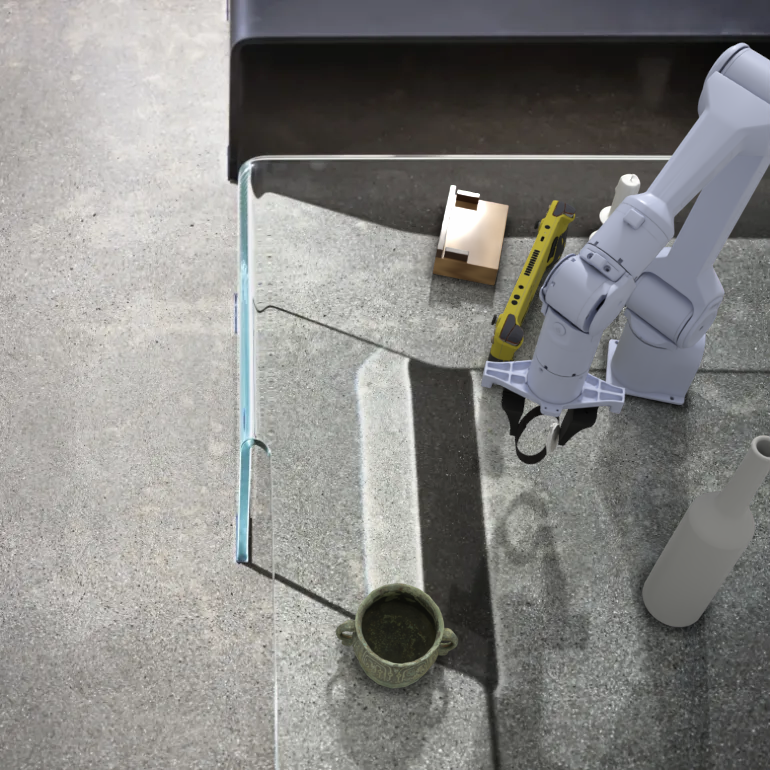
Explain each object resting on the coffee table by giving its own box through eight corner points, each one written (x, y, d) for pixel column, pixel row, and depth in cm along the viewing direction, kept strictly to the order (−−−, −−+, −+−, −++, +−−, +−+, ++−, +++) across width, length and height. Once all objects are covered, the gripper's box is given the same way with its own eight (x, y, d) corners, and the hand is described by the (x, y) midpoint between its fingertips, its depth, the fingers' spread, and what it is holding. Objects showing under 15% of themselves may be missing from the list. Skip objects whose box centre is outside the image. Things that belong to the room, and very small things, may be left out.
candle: (600, 224, 156) (623, 156, 146) (635, 242, 154) (660, 175, 145) (581, 246, 153) (603, 177, 143) (616, 265, 151) (641, 197, 142)
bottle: (713, 590, 123) (815, 439, 101) (690, 638, 119) (791, 492, 97) (656, 560, 124) (744, 404, 102) (632, 606, 121) (718, 455, 99)
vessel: (453, 617, 118) (462, 588, 113) (452, 699, 113) (461, 672, 108) (336, 606, 118) (340, 576, 113) (329, 688, 112) (333, 661, 107)
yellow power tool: (532, 247, 152) (548, 190, 144) (563, 257, 151) (580, 201, 143) (471, 386, 137) (484, 331, 129) (505, 398, 136) (520, 344, 128)
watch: (543, 475, 124) (550, 456, 121) (502, 458, 125) (508, 438, 122) (567, 424, 128) (574, 404, 126) (527, 407, 129) (533, 388, 127)
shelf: (505, 221, 154) (511, 196, 151) (494, 285, 147) (500, 261, 143) (446, 210, 155) (450, 185, 151) (432, 273, 147) (436, 248, 144)
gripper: (486, 370, 113) (466, 449, 123) (634, 400, 112) (601, 476, 123) (495, 317, 117) (475, 398, 128) (637, 345, 116) (605, 424, 127)
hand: (537, 433), depth 126 cm, fingers closed on watch, 5 cm apart
